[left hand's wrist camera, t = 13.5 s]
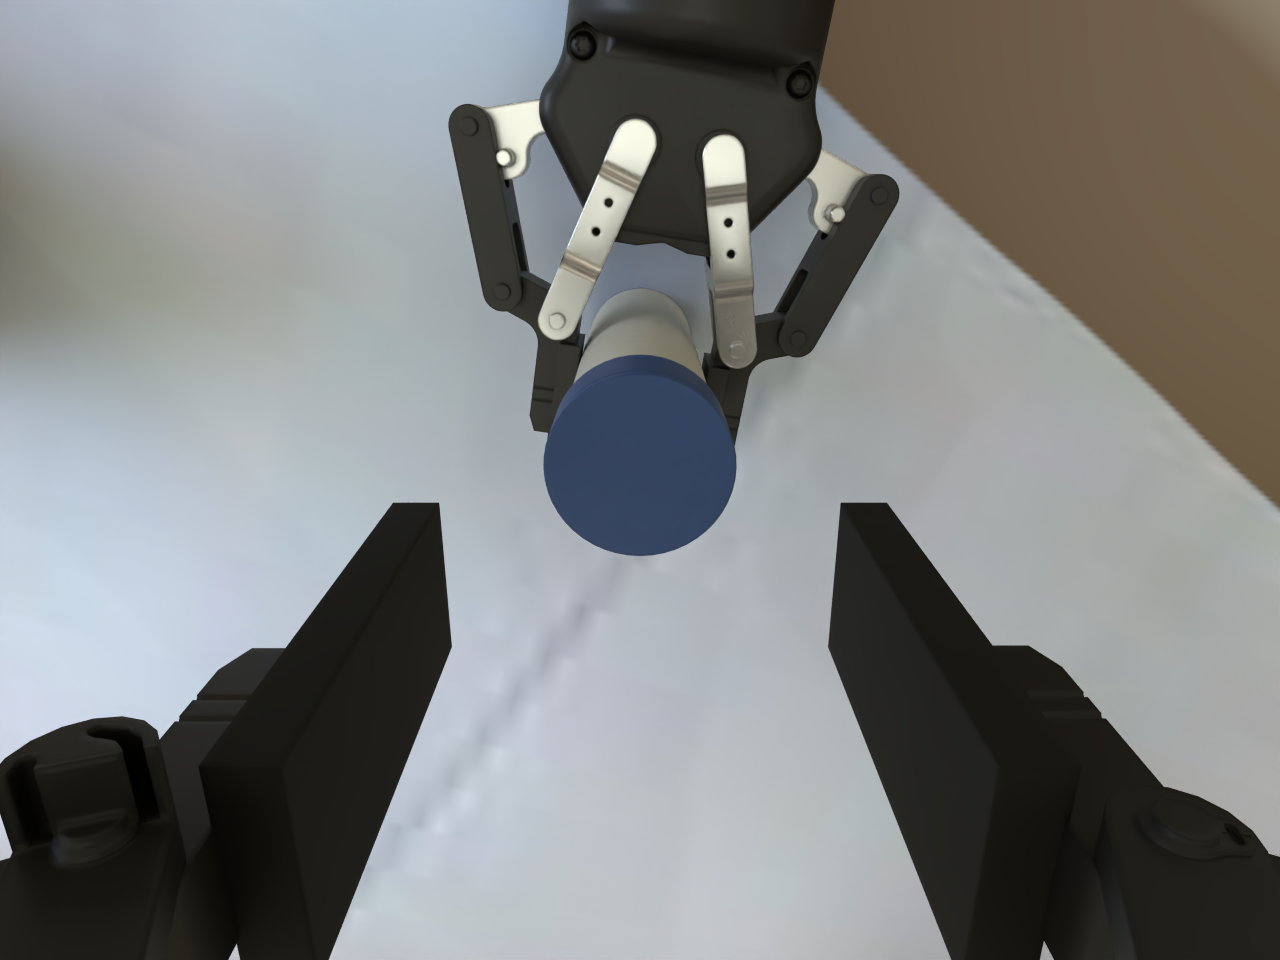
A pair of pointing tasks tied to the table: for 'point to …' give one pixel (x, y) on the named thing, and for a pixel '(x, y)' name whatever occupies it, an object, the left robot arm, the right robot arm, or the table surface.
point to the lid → (639, 456)
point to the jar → (639, 331)
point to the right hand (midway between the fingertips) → (627, 452)
